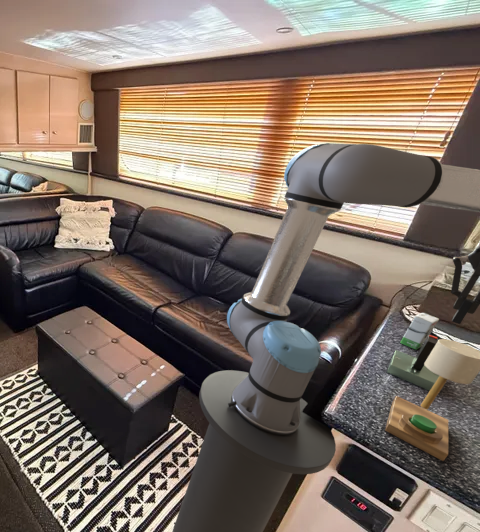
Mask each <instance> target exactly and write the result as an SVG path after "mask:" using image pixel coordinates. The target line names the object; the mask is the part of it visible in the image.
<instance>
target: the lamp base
mask: <svg viewBox="0 0 480 532" xmlns="http://www.w3.org/2000/svg"><path fill="white" fill-rule="evenodd" d="M415 414H417V415H421V416H424V417H426V418H428V419H430V420H431V421H433V422H434V423H435V424H436V426H437V428H436V429H435V431H434V432H433V433H432V434H430V433H427V432H424V431H422V430H420V429H418V428H417V427H415V426H414V425H413V424H411V422H410V420H411V418H412V417H413V415H415ZM384 431H385V432H387V433H389V434H391V435H393V436H394V437H396V438H399V439H400V440H402V441H404V442H406V443H408V444H410V445H412V446H413V447H415V448H418V449H419V450H421V451H423V452H425V453H427V454H429V455H430V456H432V457H434V458H436V459H438V460H440V461H442V462H444V461H445V459H446V458H447V457H448V456H449V419H447V418H445V417H443V416H441V415H439V414H436V413H434V412H432V411H430V410H429V409H424V408H422V407H421V406H419V405H417V404H415V403H413V402H411V401H408V400H406V399H404V398H402V397H400V396H398V395H396V396H394V398H393V400H392V402H391V406H390V409H389V413H388V417H387V421H386V425H385V429H384Z"/></svg>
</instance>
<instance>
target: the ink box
mask: <svg viewBox="0 0 480 532" xmlns="http://www.w3.org/2000/svg"><path fill="white" fill-rule="evenodd" d="M439 320H440V318H438V317H435V316H433V315H430V314H428V313H426V312H420V313H418V314H417V315H415V316H414V318H413V319H412V321H411V323H410V325H409V326H408V328H407V330H406V331H405V333H404V335H403V337H402V338H401V340H400V342H399V343H400V344H402V345H403V346H406V347H409V348H411V349H413V350H417V351H418V349H421V347H422V344H423V343H424V342H425V340H426V339H427V337H428V335H431V333H432V331H433V330H434V329H435V327H436V325H437V324H438V322H439ZM411 345H412V346H411ZM416 347H417V348H416Z"/></svg>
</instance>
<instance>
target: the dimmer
mask: <svg viewBox="0 0 480 532" xmlns="http://www.w3.org/2000/svg"><path fill="white" fill-rule="evenodd" d="M415 357H416V356H413V355H410V354H408V353H406V352H402V351H400V350H397V349H395V351H394V352H393V354H392V356H391V358H390V361H389V364H388V367H387V370H386V373H387V374H390V375H392V376H394V377H397V378H399V379H401V380H404V381H406V382H408V383H411V384H412V385H415V386H418V387H420V388H421V389H424V390H427V391H428V392H429V391H430V390H431V388H432V387H433V385H434V384H435V382H436V381H437V379H438V378H439V375H437V374H435V373H433V372H432V371H430V370H429V369H428V368H427V367H426V366H425V365H424V366H423V368H422V370H421V371H418V370H416V369H414V368H412V364H413V360H414V359H415Z"/></svg>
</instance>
